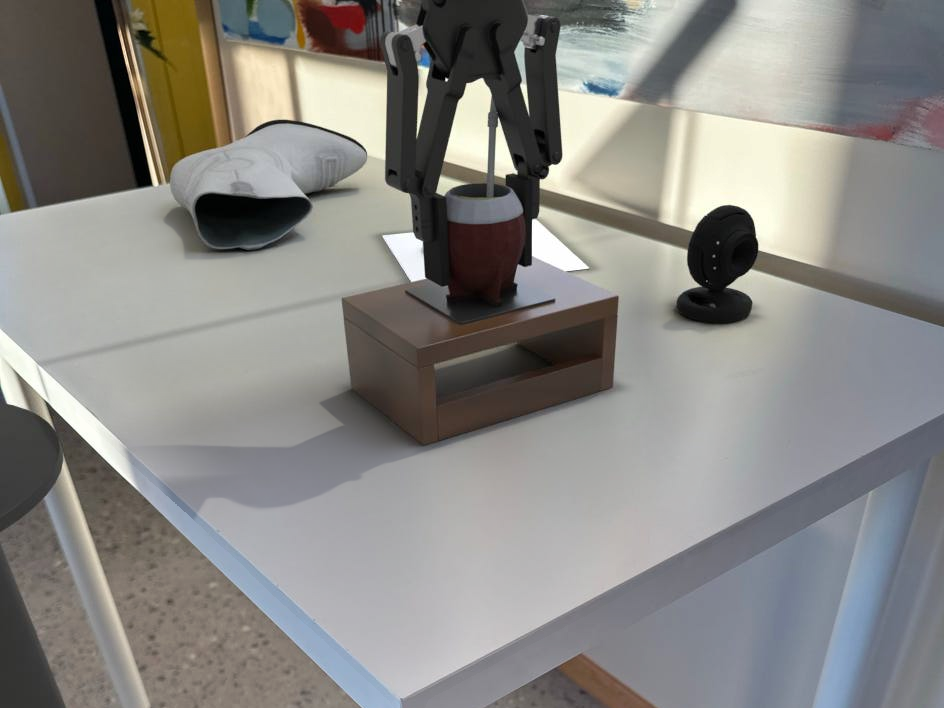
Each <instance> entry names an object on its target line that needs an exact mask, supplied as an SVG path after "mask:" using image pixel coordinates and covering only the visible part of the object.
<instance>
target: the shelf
mask: <svg viewBox="0 0 944 708" xmlns="http://www.w3.org/2000/svg"><path fill="white" fill-rule="evenodd" d="M514 282H515V283H517V284H518V286H517V291H512V292H507V293H502V294H500V295H499V298H500V299H501V300H502V301H503V306H502V307H498V308H494V307H492V306H491V305H489V304H488V303H487V302H485V301H484V300H482V299H481V298H477V299H471V300H466V301H461V302H455V303H449V302H447V298H446V295H448V294H450V293H449V289H448V285H447V286H443V287H441V286H440V285H438V284H436V283H434V282H432V281H431V280H429V279H422V280H418V281H414V282H411V281H410V282H406V283H401V284H397V285H392V286H388V287H384V288H379V289H376V290H371V291H366V292H361V293H357V294H353V295H349V296H344V297H341V307H342V315H343V326H344V336H345V343H346V352H347V361H348V371H349V378H350V379H349V380H350V387H351V390H352V391H354V392H356V393H357V394H358V395H359V396H360V397H362V398H363V399H364V400H366V401H367V402H368V403H369V404H370V405H372V406H373V407H374V408H376V409H377V410H378V411H379V412H381V413H382V414H383V415H385V416H386V417H387V418H388V419H390V420H391V421H392V422H394V423H395V424H396V425H397V426H399V427H400V428H401V429H402V430H404V432H406V433H408V434H409V435H410V436H411V437H412V438H413V439H414V440H416V441H417V442H419V444H421V445H422V446H425V445H430V444H433V443H437V442H440V441H442V440H446V439H450V438H452V437H455V436H459V435H462V434H466V433H468V432H471V431H475V430H478V429H482V428H484V427H488V426H491V425H495V424H498V423H501V422H504V421H507V420H510V419H514V418H516V417H520V416H524V415H526V414H530V413H534V412H537V411H540V410H543V409H546V408H549V407H552V406H556V405H560V404H562V403H566V402H569V401H572V400H576V399H578V398H582V397H585V396H588V395H592V394H595V393H598V392H602V391H604V390H607V389H611V388H613V387H614V378H615V377H614V376H615V361H616V347H617V344H616V343H617V335H618V332H617V331H618V317H619V315H618V313H619V301H620V299H619V298H620V296H619V294H616V293H614V292H612V291H610V290H607V289H605V288H603V287H601V286H599V285H597V284H595V283H592V282H590V281H588V280H585V279H584V278H581V277H579V276H577V275H575V274H572V273H570V272H569V271H564V270H562V269H559V268H557V267H555V266H553V265H551V264H549V263H546V262H544V261H542V260H540V259H538V258H535V257H533V256H532V265H531V266H527V267H523V266H521V265H519V264H518V266H517V270H516V274H515V279H514ZM513 343H517V344H518V345H519V346H521V347H523V348H525V349H527V350H528V351H530V352H532V353H533V354H535V355H537V356H539V357H541V358H542V359H544V360H546V361H548V362H549V363H551V364H553V365H549V366H546V367H542V368H538V369H536V370H532V371H528V372H525V373H522V374H521V373H520V374H518V375H515V376H511V377H508V378H504V379H500V380H497V381H493V382H490V383H486V384H483V385H479V386H476V387H473V388H470V389H465V390H461V391H459V392H456V393H452V394H448V395H445V396H442V397H439V398H438V397H437V390H436V371H435V365H436V364H440V363H443V362H447V361H451V360H455V359H458V358H462V357H466V356H469V355H473V354H477V353H480V352H483V351H487V350H491V349H494V348H499V347H502V346H503V347H504V346H506V345H510V344H513Z"/></svg>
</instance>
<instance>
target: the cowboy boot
mask: <svg viewBox="0 0 944 708" xmlns="http://www.w3.org/2000/svg"><path fill="white" fill-rule="evenodd" d="M366 149H367V148H365V147H364V146H363V144H361V143H360V142H359V141H357V140H356V139H354V138H352V137H351V136H349V135H346V134H344V133H340V132H338V131H335V130H331V129H329V128H326V127H322V126H319V125H316V124H313V123H309V122H305V121H300V120H293V119H274V120H269V121H266V122H263V123H261V124H259V125H258V126H256V127H255V128H253V129H252V130H251V131H250V132H248V134H247V135H245V136H244V137H242V138H241V139H238V140H236V141H233V142H231V143H229V144H226V145H224V146H221V147H216V148H211V149H207V150H203V151H199V152H196V153H193V154H190V155H188V156H186V157H183V158H182V159H180V160H178V161H177V162H176V163H175V164H174V165H173V167H172V168H171V171H170V177H169V188H170V192H171V194H172V196H173V198H174V200H175V202H176V203H177V204H178V205H179V206H181V207H182V208H184V209H185V210H187V211H188V212H189V213H190V215H191V218H192V220H193V223H194V227H195V230H196V233H197V235H198V237H199V238H200V240H201V241H202V242H203V244H205V246H207V247H209V248H211V249H214V250H230V249H237V248H239V249H242V250H246V251H252V250H253V251H254V250H259V249H261V248H263V247H264V246H266V245H269V244H272V243H274V242H276V241H278V240H279V239H281V238H283V237H284V236H285V235H287V234H289V233H290V232H291V231H292V230H294V228H296V227H297V226H298V225H300V223H301V222H303V221H305V219H307V218H308V217H309V215H310V214H311V213H312V211H313V208H314V204H313V202H312V200H311V199H310V198H309V197H308V196H307V195H306V194H311V193H318V192H319V191H321V190H326V189H327V188H333V187H335V186H336V185H337V184H339V183H340V182H341V181H343V180H345V179H347V178H349V177H351V176H352V175H354V174H356V173H357V172H359V171H360V170H361V169H362V168H363V167H364V166H365V165H366V164H367V161H368V152H367V150H366Z"/></svg>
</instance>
